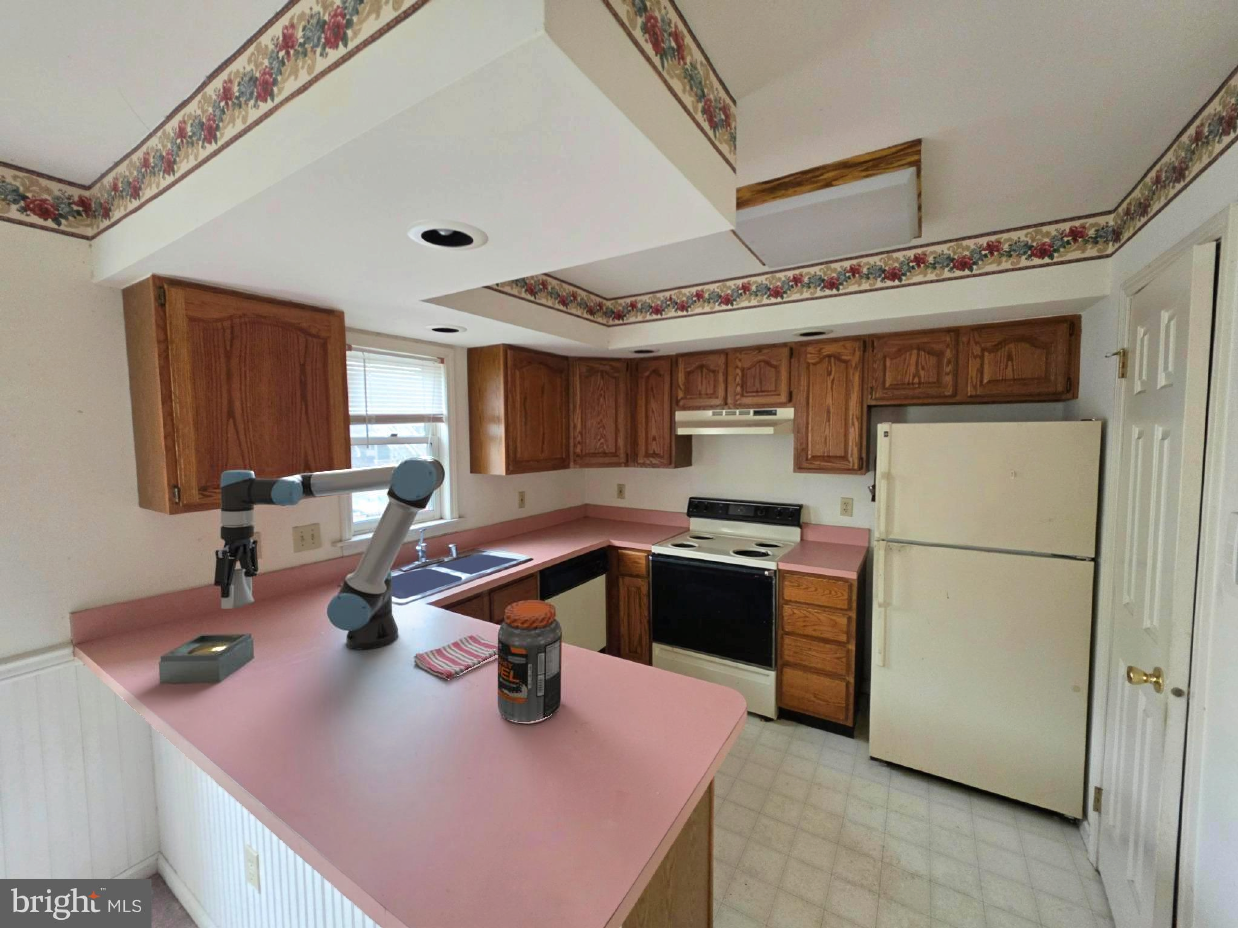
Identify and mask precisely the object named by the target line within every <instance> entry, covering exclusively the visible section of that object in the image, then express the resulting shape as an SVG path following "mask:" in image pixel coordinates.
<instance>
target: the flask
mask: <svg viewBox="0 0 1238 928" xmlns="http://www.w3.org/2000/svg"><path fill="white" fill-rule="evenodd" d="M244 572H245V569H241V568H235V571H234V575H233V579H232V583H231V585H234V608H240V607H245V606H248V605H250V604H252V603H254V602H255V599H254V597H253V594H252V595H251V593H250V591H249V589H248V587H247V585H246V582H245V578H244V577H245V576H244ZM220 606H222V603H220Z"/></svg>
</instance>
